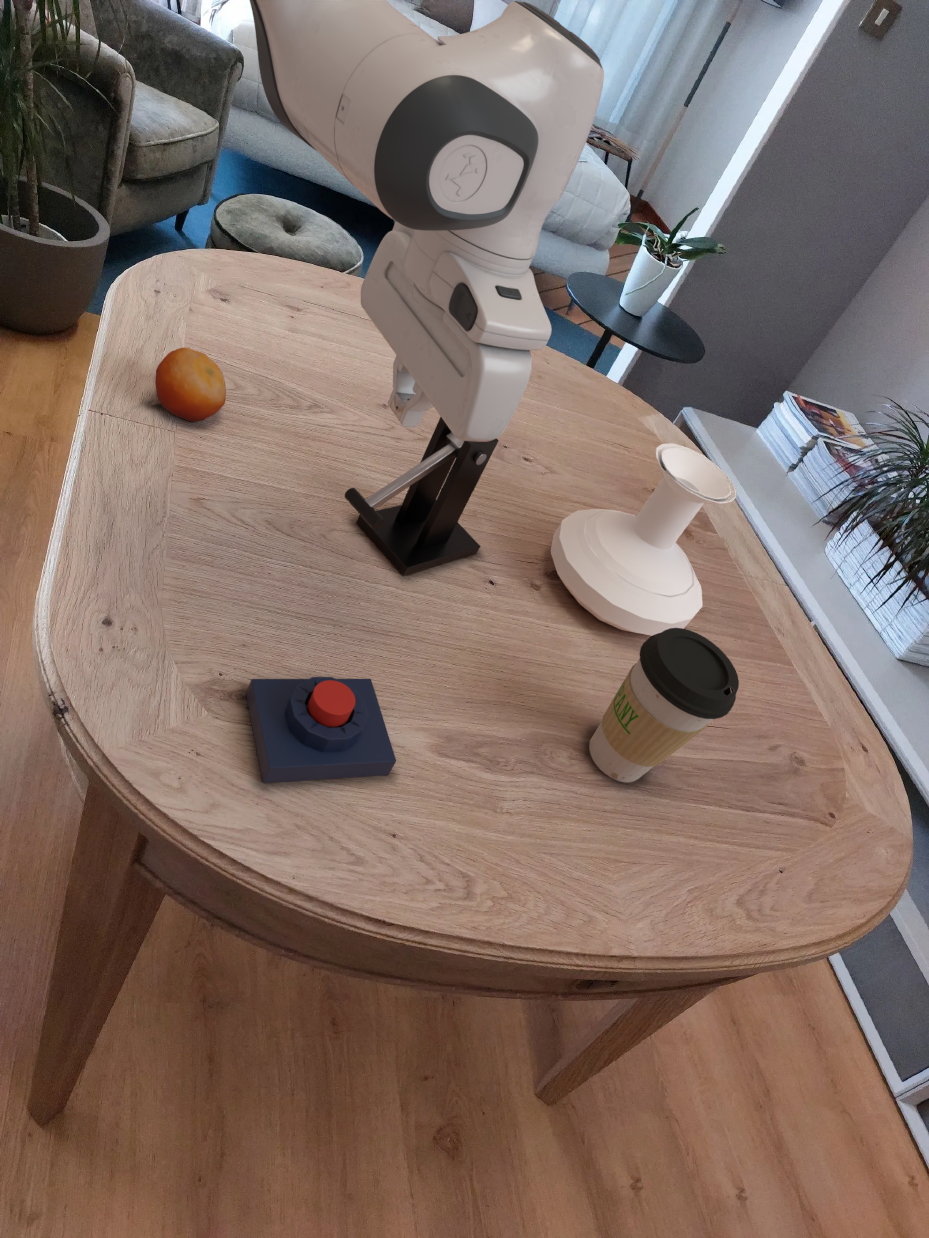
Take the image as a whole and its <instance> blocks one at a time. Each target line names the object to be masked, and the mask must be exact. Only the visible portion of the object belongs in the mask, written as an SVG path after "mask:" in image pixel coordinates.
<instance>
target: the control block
mask: <svg viewBox="0 0 929 1238" xmlns="http://www.w3.org/2000/svg"><path fill="white" fill-rule="evenodd" d="M327 680H333V681H338V682H341V683H343V684H344V685H346V686H347V687H349V688H350V690H351V691H352V692H353V694H354V696H355V706H354V708H353V710H352V712H351V714H350V716H349V718H348V720H347V721H346V722H345V723H344V724H343V725H341V726H338V727H327V726H324V725H321V724H319V723H318V722H316V721H315V720H314V719H313V718H312V717H311V715H310V713H309V711H308V702H309V700H310V697H311V695H312V693H313V691H314V688H315V687H316V686H317V685H318V684H319V683H321V682H323V681H327ZM245 696H246V702H247V707H248V711H249V718H250V723H251V728H252V732H253V739H254V743H255V748H256V754H257V759H258V764H259V769H260V775H261V779H262V783H263V784H270V783H273V784H274V783H285V782H287V783H288V782H302V781H317V780H319V781H320V780H332V779H333V780H334V779H351V778H364V777H365V778H366V777H380V776H389V775H390V773H391V771H392V769H394V766H395V764H397V763H396V762H397V759H396V756H395V752H394V748H393V746H392V742H391V739H390V736H389V733H388V729H387V726H386V723H385V721H384V716H383V714H382V710H381V707H380V703H379V700H378V698H377V697H378V696H377V694H376V691H375V687H374V684H373V681H372V678H335V677H333V676H312V677H309V678H252V679H251V680H250V682H249V686H248V688H247V690H246V693H245Z"/></svg>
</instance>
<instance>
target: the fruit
mask: <svg viewBox="0 0 929 1238" xmlns="http://www.w3.org/2000/svg"><path fill="white" fill-rule="evenodd" d="M154 381H155V393H156V400H155V401H153V402H151V403H150V406H154V405H161V406H162V407H163V408H164V409H166V410H167V411H168V412H169V413H170V414H171V415H172V414H173V415H174V416H176V417H178V418H181V419H184V420H186V421H188V422H191V423H196V422H203V421H204V420H207V419H209V418H210V417H212V416H214V415H215V414H216V413H218V412H219V411H220V410H221V409H222V408H223V406H225V404H226V400H227V399H226V398H227V397H226V396H227V386H226V380H225V377H224V374H223V371H222V369H221V368H220V367H219V366H218V364H217V363H216V362H215V361H214V360H212V359H211V358H210V357H209V356H208V355H207V354H206V353H204V352H202V351H198V350H195V349H192V348H189V347H180V348H177V349H174V350H172V351H169V352H168V353H167V354H166V355H165V356H164V358H163V359H162V360H161V361H160V362H159V364H158V365H157V366H156V369H155V380H154Z"/></svg>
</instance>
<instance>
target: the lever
mask: <svg viewBox="0 0 929 1238" xmlns="http://www.w3.org/2000/svg"><path fill="white" fill-rule="evenodd" d="M463 443H464V441H462V440H459V439H457V438H456V437H455V436H454V434H453V433H452V432H451V433H450V434H448V435H447V445H446V446H445V447H443V448H442V449H440V450H439V451H437V452H436V453H434V454H433V455H431V456H430V457H428V458H427V459H425V460H424V461H422V462H421V461H420V462H421V463H420V462H419V463H418V464H416V465H415V466H413V467H412V468H410V469H409V470H408V471H406V472H404V473H403V474H401V475H400V476H398V477H396V478H395V479H394V480H393V481H390V482H389V483H388V484H387V485H385V486H383V487H382V488H380V489H379V490H378V491H376V492H375V493H373V494H371V495H370V496H369V497H367V498H365V497H364V496H363V495H362V494H361V493H360V492H359V491H358V489H356V487H350V488H349V489H347V490H346V491H345V493H344V499H345V500H346V501H347V502H348V503H349V504H350V505H351V506H352V507H353V508H354V510H355V511H356V512H357V513H358V515H361V516H362V517H363V519H364V520H365V521H366V522H367V523H368V524H369V525H370V526H371V527H372V529H374V530H377V529H379V528H380V527H381V526H382V525H383V524H384V520H383V518H382V517H381V516H380V515H379V514H378V513H377V512H376V511H377V510H378V508H380V507H381V506H383V505H385V504H386V503H387V502H389V501H390V500H392V499H393V498H395V497H396V496H397V495H399V494H401V493H402V492H403V491H405V490H407V489H409V487H410V486H411V485H412V484H414V483H415V482H417V481H418V480H420V479H421V478H423V477H424V476H426V475H427V474H429V473H430V472H432V471H433V470H435V469H436V468H438V467H439V466H441V465H442V464H443V463H445V462H446V461H448V460H449V459H451V458H452V457H454V456H455V457H456V458H457V455H458V453H459V451H460V449H461V447H462V445H463ZM456 458H455V459H456Z"/></svg>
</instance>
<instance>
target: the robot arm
mask: <svg viewBox="0 0 929 1238" xmlns="http://www.w3.org/2000/svg"><path fill="white" fill-rule="evenodd" d="M249 4H250V9H251V12H252V17H253V23H254V32H255V41H256V49H257V50H256V51H257V60H258V68H259V74H260V79H261V84H262V88H263V91H264V94H265V96H266V99H267V102H268V105H269V107H270V108H271V111H272V112H273V114H274V115H275V116H276V118H277V119H278V121H279V122H280V123H281V124H282V125H283V127H285V128H286V129H287V130H288V131H289V132H291V133H292V135H295V136H296V137H297V138H299V139H300V140H301V141H302V142H304V143H305V144H306V145H308V146H309V147H310V148H312V149H313V150H315V151H316V152H317V153H319V154H320V155H321V156H322V157H323V158H324V159H325V160H326V161H327V162H328V163H329V164H330V165H331V166H332V167H333V168H334V169H335V170H336V171H338V173H339V174H341V176H343V177H344V179H346V180H347V181H348V183H350V184H351V185H352V186H353V187H355V188H356V189H357V190H358V191H359V192H360V193H361V194H362V195H363V196H364V197H365V198H366V199H368V200H369V202H371V203H372V204H373V205H374V206H375V207H376V208H377V209H378V210H379V211H381V212H382V213H383V214H385V216H387V217H388V218H390V219H391V220H393V221H394V224H393V227H392V230H390V231H388V232H387V233H386V234H385V235H384V237H382V240H381V241H380V243H379V245H378V247H377V248H376V250H375V253H374V255H373V258H372V260H371V261H370V264H369V266H368V269H367V271H366V273H365V277H364V279H363V281H362V284H361V288H360V306H361V308H362V309H363V311H364V312H365V313H366V315H367V316H368V317H369V319H370V320H371V322H372V323H373V325H374V326H375V327H376V329H377V330H378V331H379V333H380V335H381V336H382V337H383V339H384V340H385V341H386V342H387V344H388V345H389V347H390V348H391V349H392V351H393V352H394V353H395V358H394V359H393V363H392V391H391V393H390V396H389V399H388V400H387V401H388V402H387V405H388V407H389V408H390V410H391V411H392V412H393V414H394V416H395V417H396V419H397V420H398V421H399V423H400V425H401V426H402V427H403V428H417V427H418V426H419V425H420V424H421V422H422V420H423V417H424V415H425V413H426V412H427V411H429V410H430V409H432V408H434V410H436V412H437V413H438V415H439V416H440V417H442V419H443V420H444V422H445V423H446V424H447V426H448V427H449V429H450V430H451V431H452V433H453V434H454V436H455V437H456V438H457V439H459V440H462V441H474V442H488V441H492V440H494V439H496V438H497V439H498V438H500V437H501V436H502V435H503V434H504V432H505V431H506V429H507V427H508V425H509V424H510V422H511V420H512V419H513V416H514V415H515V412H516V410H517V408H518V406H519V405H520V402H521V400H522V397H523V395H524V393H525V391H526V389H527V387H528V384H529V381H530V378H531V374H532V371H533V357H532V353H531V351H535V352H537V351H538V352H539V351H542V350H543V349H544V348H545V347H546V346H547V344H548V342H549V340H550V338H551V336H552V330H553V329H552V324H551V321H550V318H549V316H548V314H547V312H546V309H545V307H544V303H543V301H542V300H541V299H542V298H541V296H540V294H539V291H538V288H537V284H536V281H535V280H536V279H535V276H534V273H533V271H532V269H531V268H530V266H531V264H532V262H533V260H534V258H535V255H536V253H537V250H538V247H539V243H540V237H541V232H542V229H543V226H544V224H545V221H546V219H547V217H548V215H549V214H550V213H551V211H552V210H553V208H554V207H555V206H556V205H557V204H558V203H559V202H560V200H561V199H562V198H563V196H564V193H565V191H566V189H567V187H568V185H569V182H570V181H571V180H570V179H571V178H572V176H573V174H574V171H575V170H576V167H577V165H578V163H579V160H580V158H581V155H582V154H583V150H584V148H585V145H586V143H587V140H588V137H589V135H590V132H591V130H592V127H593V124H594V121H595V118H596V117H597V113H598V109H599V105H600V101H601V97H602V92H603V88H604V81H605V70H604V68H603V66H602V63H601V59H600V58H599V56H598V54H597V53H596V52H595V51H594V50H593V49H592V47H591V46H590V45H589V44H587V42H585V41H584V40H582V38H580V37H579V36H578V35H577V34H575V33H574V32H573V31H570V30H569V29H568V28H566V27H565V26H564V25H562V24H561V23H560V22H559V21H558V20H556V19H555V18H553V16H551V15H550V14H548V13H546V11H544V10H542V9H540V8H539V7H537V6H536V5H534V4H531V3H529V2H526V1H517V0H514V1H510V2H509V3H508V5H507V6H506V7H505V8H504V10H502V11H503V12H502V13H501V15H500V16H498V18H496V19H494V20H493V21H491V22H489V23H487V24H486V25H484V26H482V27H478V28H476V29H474V30H471V31H468V32H464V33H459V34H456V35H441V36H440V35H438V36H437V39H436V38H434V36H432V35H431V34H430V33H428V32H427V31H426V30H424V29H423V28H422V27H420V26H419V25H417V24H416V23H415V22H414V21H412V20H411V19H410V18H409V17H407V16H406V15H404V14H403V13H402V12H401V11H399V9H397V8H396V7H394V6H393V5H392V3H390V2H389V1H387V0H249Z"/></svg>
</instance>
